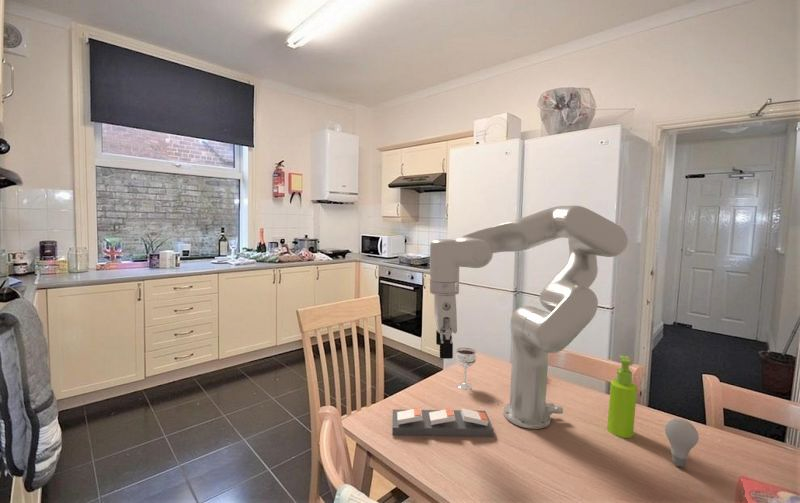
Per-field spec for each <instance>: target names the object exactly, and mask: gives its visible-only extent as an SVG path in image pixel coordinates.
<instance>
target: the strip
mask: <svg viewBox="0 0 800 503" xmlns="http://www.w3.org/2000/svg"><path fill="white" fill-rule="evenodd" d="M406 410H407V409H398V408H397V409H395V408H394V409H393V408H392V426H391V427H392V428H391V434H392V436H424V437H425V436H428V437H429V436H431V437H436V436H437V437H440V436H441V437H494V427H493V425H492V423H491V420H490V419H489V416H488V413H487V411H486V410H476V411H477V412H482V413H485V415H486V417H487V419H488V425H487V426H486V425H481V424H477V423H472V422H468V421H463V418H462V415H461V410H459V409H458V410H457V409H456V410H454V409H453V412H454V415H455V421H450V422H445V423H440V424H434V425H431V421H430V415H429V412H434V411H440V410H441V409H421V411H422V418H423V420H420V421H415V422H410V423H404V424H399V425H398V421H397V412H400V411H406Z"/></svg>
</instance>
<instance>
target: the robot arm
mask: <svg viewBox="0 0 800 503" xmlns="http://www.w3.org/2000/svg"><path fill="white" fill-rule="evenodd" d="M562 238H565V239H568V243H567V244H568V247H569V248H568V249H569V250H568V252H569V255H568V260H567V262H566V264H565V265H564V266H563V267H562V269H561V270H560V271H559V272H557V274H555V276H554V277H553V278H552V279H551V280H550V281H549V282H548V283H547V284H546V285H545V287H543V289H542V290H541V292H540V295H539V302H540V304H541V306H542V307H543V308H545V309H546V310H547V311H545V310H543V309H541V308H538V307H536V306H531V305H524V306H520V307H518V308H517V309H516V310H515V311H514V312H513V314H512V315H511V318H510V325H509V326H510V327H509V328H510V334H511V335H510V336H511V348H512V349H511V350H512V351H511V353H512V354H511V369H510V370H511V371H510V372H511V373H510V387H509V388H510V390H509V392H510V393H509V403H508V404H506V405H505V406H504V408H503V416H504V417H505V419H506V420H508V421H509V422H510V423H512V424H513V425H515V426H518V427H519V428H520V427H521V428H524V429H530V430H539V429H544V428H547V427H548V426H550V425H551V420H552V418H551V415H553V414H556V415H557V414H558V415H563V413H564V410H563V406H559V405H558V406H555V403H554V402H547V400H546V399H547V384H548V368H549V354H556V353H559V352H561V351H563V350H565V348H567V347H569V345H570V344H571V343H572V342H573V341H574V339H575V338H577V337H578V336H579V334H580V333H581V332H582V331H583V330H584V329H585V328H586V327H587V326H588V324H590V323H591V321H592V320H593V319H594V317H595V316H596V314H597V310H598V305H599V302H598V296H597V295H596V293H595V292H594V291H593V290H592V289H591V288H590V287H591V286H592V285H593V284H594V282H595V280H596V279H597V276H598V258H597V256H598V257H599V256H600V257H607V258H612V257H613V258H614V257H618V256H619V255H621V254H622V253H624V251H626V249H627V246H628V244H629V239H628V234H627V232H626V231H625V230H624V228H622V226H620V225H618V223H615V222H613V220H612V221H611V220H610V219H608V218H606V217H604V216H602V215H601V214H599V213H597V212H594V211H593V210H591V209H589V208H587V207H585V206H581V205H557V206H552V207H548V208H546V209H543V210H541V211H538V212H535V213H532V214H529V215H527V216H524V217H519V218H518V219H514V220H510V221H508V222H504V223H500V224H497V225H495V226H490V227H486V228H482V229H479V230H477V231H473V232H470V233H468V234H464V235H462V236H460V237H458V238H457V239H452V238H451V239H450V238H449V239H448V238H444V239H443V238H440V239H434V240H432V241H431V242H430V244H429V245H430V246H429V293H430V294H432V295H434V303H433V304H434V323H435V327H436V332H435V337H436V339H435V340H436V346H439V358H440V359H442V360H443V359H447V360H448V359H453V357H454V351H453V350H454V344H453V343H454V342H453V333H454V334H457V332H458V326H457V325H458V324H457V323H458V322H457V321H458V320H457V319H458V318H457V316H458V315H457V298H456V295H459V294H460V268H461V267H462V268H470V269H481V268H484V267H486V266H488V265H489V264H490V262H491V261H492V259H493V257H494V256H493V255H494V254H496V253H503V252H505V253H506V252H507V253H509V252H511V253H513V252H522V251H527V250H530V249H533V248H535V247H538V246H541V245H544V244H546V243H549V242H551V241H554V240H557V239H562ZM548 311H549V312H550V313H549V312H548Z"/></svg>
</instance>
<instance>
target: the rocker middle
mask: <svg viewBox="0 0 800 503" xmlns="http://www.w3.org/2000/svg"><path fill="white" fill-rule="evenodd" d="M439 410H440V411H434V412H429V415H430V421H431V425H434V424H440V423H445V422H450V421H455V415H454V412H453V410H454V409H453V407H449V408H446V409H439Z"/></svg>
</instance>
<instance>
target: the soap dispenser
mask: <svg viewBox="0 0 800 503" xmlns="http://www.w3.org/2000/svg"><path fill="white" fill-rule="evenodd" d="M619 358H620V360H621V368H618V369H616V370H617V371H616V379H611V381H610V387H609V388H610V390H609V403H608V416H607V431H608V432H610V433H611V434H612V435H614V436H615V437H618V438H623V439H624V438H625V439H629V438H633V436H634V427H635V426H634V425H635V415H636V402H637V391H638V387H637V385H636V384H635V383H633V382H632V380H633V372H632V371H630V365H631V359H630V357H629V356H628V355H623V354H619Z"/></svg>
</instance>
